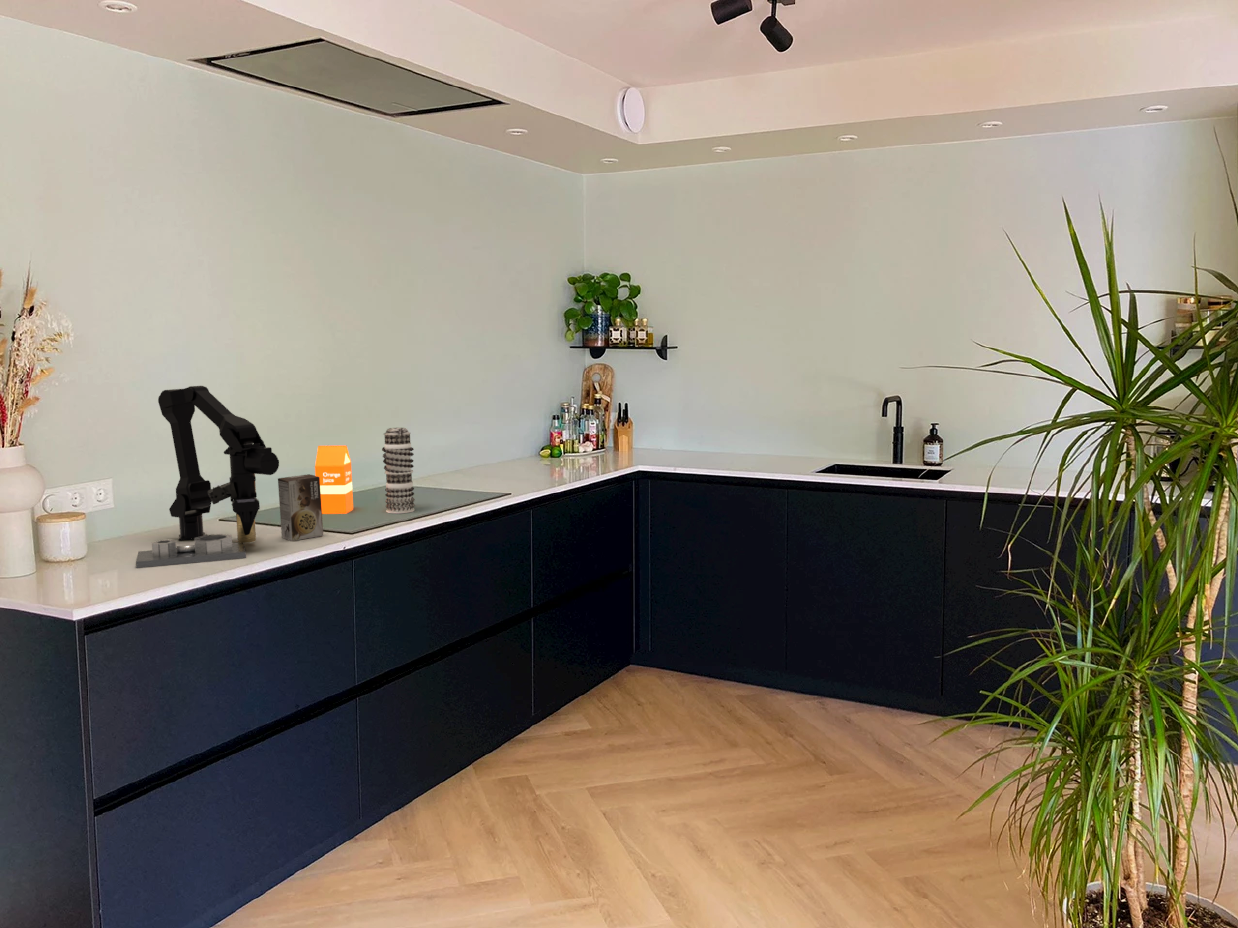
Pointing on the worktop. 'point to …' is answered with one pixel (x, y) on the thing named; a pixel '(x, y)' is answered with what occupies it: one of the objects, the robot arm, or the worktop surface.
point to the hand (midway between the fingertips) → (246, 533)
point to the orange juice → (334, 479)
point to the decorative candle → (398, 471)
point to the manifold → (191, 551)
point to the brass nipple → (240, 532)
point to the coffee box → (300, 507)
